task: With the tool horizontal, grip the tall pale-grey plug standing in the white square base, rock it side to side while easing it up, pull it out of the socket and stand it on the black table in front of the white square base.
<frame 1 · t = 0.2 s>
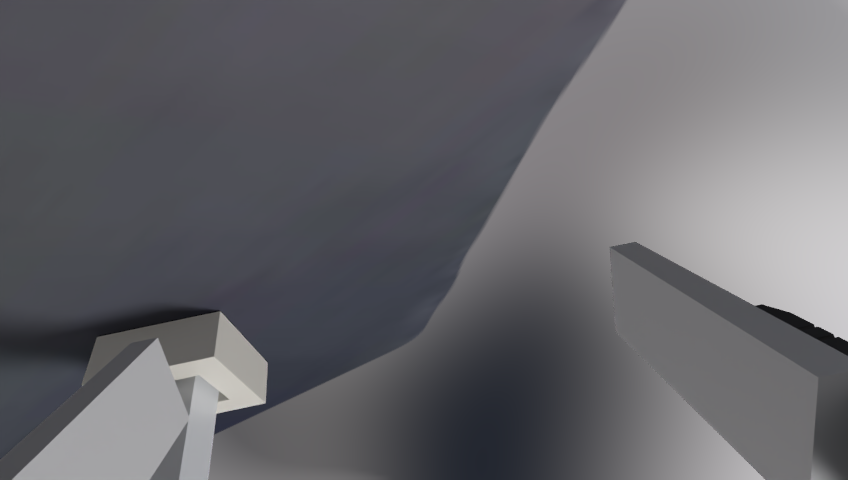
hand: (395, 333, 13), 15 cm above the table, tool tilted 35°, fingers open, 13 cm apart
plug: (188, 361, 40), point 1 cm above the table, touching white square base
white square base: (190, 351, 40), on the table
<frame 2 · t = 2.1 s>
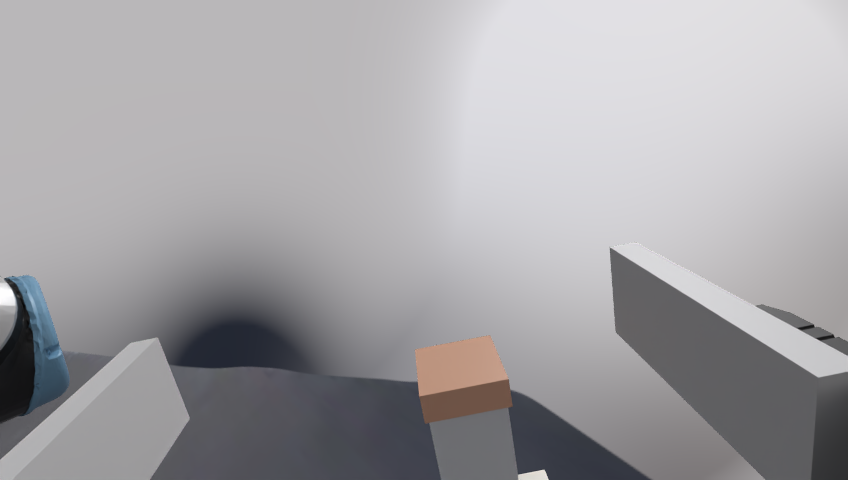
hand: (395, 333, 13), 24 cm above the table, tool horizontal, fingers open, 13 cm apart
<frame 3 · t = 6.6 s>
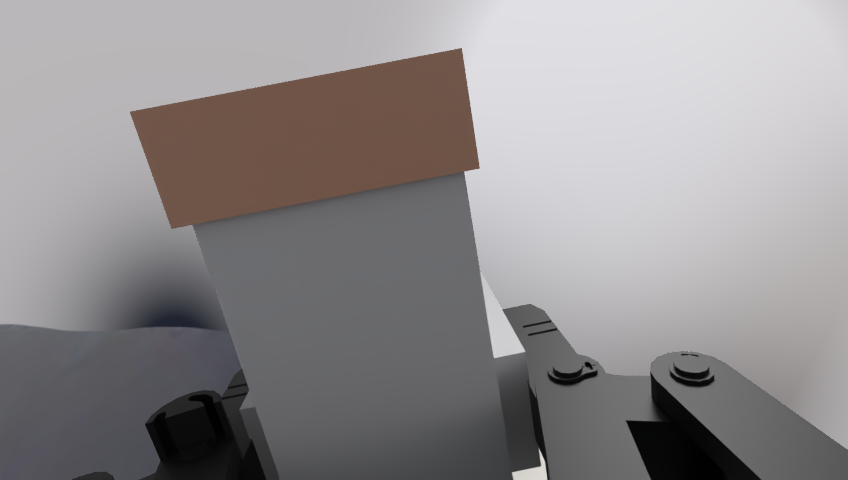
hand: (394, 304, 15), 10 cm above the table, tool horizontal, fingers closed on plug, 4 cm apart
when the fingers open (11 cm above the table, at t = 12.1 s): plug drops 1 cm, on the table.
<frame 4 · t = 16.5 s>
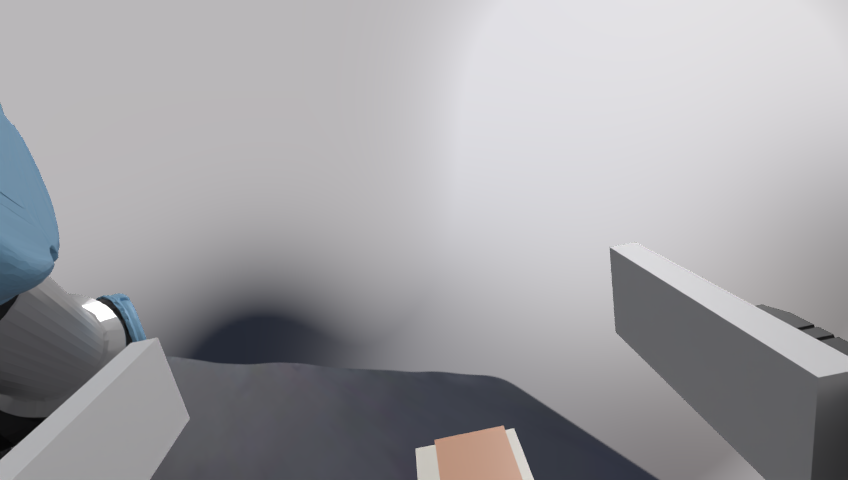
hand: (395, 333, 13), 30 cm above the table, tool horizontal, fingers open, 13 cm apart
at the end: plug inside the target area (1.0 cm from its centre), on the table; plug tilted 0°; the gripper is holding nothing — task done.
